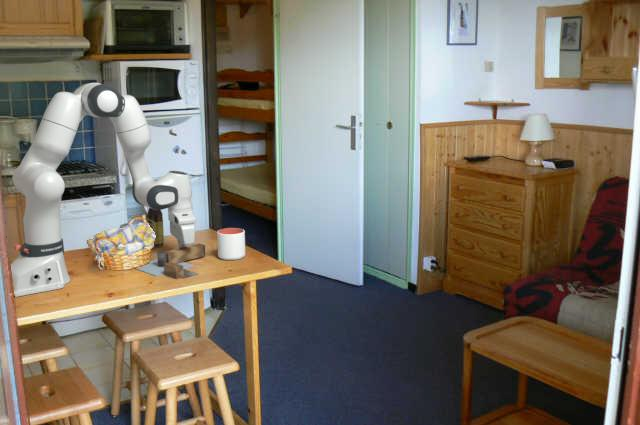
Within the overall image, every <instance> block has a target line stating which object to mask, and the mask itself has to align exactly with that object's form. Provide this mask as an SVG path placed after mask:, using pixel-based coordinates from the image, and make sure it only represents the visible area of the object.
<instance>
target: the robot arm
mask: <svg viewBox="0 0 640 425" xmlns="http://www.w3.org/2000/svg"><path fill="white" fill-rule="evenodd" d="M85 116H86V117H87V116H90V117H93V118H103V119H104V118H108V119H109V120H110V121H111V123H112V125H113V128H114V131H115V135H116V137H117V139H118V141H119V142H118V143H119V144H120V146H121V148H122V151H123V154H124V156H125V160H126V163H127V166H128V170H129V174H130V176H131V181H132V192H131V193H132V197H133V199H134V201H135V202H136V203H137V204H138V205H139V206H143V207H147V208H148V209H149V208H151V209H154V210H161V211H162V210H165V209H167V216H168V221H169V232H170V235H172V236H173V237H174V238H175V239H176V241H177V245H178V249H179V248H183V247H187V246H191V245H195V241H196V240H195V238H196V237H195V236H196V235H195V234H196V231H195V230H196V228H195V224H196V222H197V219H196V216H195V215H194V210H193V209H194V208H193V203H192V197H193V193H192V192H193V191H192V189H193V188H192V183H191V182H192V181H191V178H190V175H189V174H188V173H186V172H184V171H179V170H170V171H168V172H167V173H166V174H165V175H164V176H163V177H161V178H159V179H158V180H154V179H153V177H152V176H151V174H150V172H149V168H148V165H147V160H146V158H145V151H146V149H147V148H148V147H149V146H150V144H151V141H152V135H151V130H150V126H149V124H148V122H147V118H146V116H145V113H144V111H143V108H142V107H141V105H140V103H139V102H138V100H137V99H136V97H135V96H133V95H131V94H122V93H121V94H120V93H119V92H118V90H117V89H116V88H114V87H113V86H111V85H108V84H105V83H99V82H86V83H83V84H80V85H79V86H78V87H76V88H75V89H73V91H71V92H70V91H69V92H68V91H59V92H56V93H55V94H54V96H53V97H52V99H51V100H50V102H49V104H48V105H47V107H46V108H45V111H44V113H43V116H42V118H41V121H40V123H39V126H38V128H37V130H36V134H35V137H34V139H33V142H32V143H31V145H30V146H29V149H28V150H27V151H26V153H25V155H24V157H23V158H22V161H21V162H20V164H19V165H18V166H17V167H16V169H14V171H13V173H12V183H13V186H14V187H15V188H16V190H17V191H18V192H19V193H20V194H21V195H23V196H24V197H25V210H24V216H23V217H22V225H23V232H24V243H23V244H19V243H16V244H14V246H13V249H14V250H15V251H17V252H20V254H19V255H18V257H17V258H15V259H14V261H12V263H11V264H9V265H11V271H12V278H13V286H14V294H15V297H22V296H28V295H32V294H38V293H44V292H49V291H53V290H60V289H63V288H65V286H66V284H68V283H69V282H70V281H71V277H70V274H69V273H68V272H69V271H68V269H67V264H66V261H65V257H64V255H65V246H64V239H63V238H62V231H61V230H62V229H61V215H60V214H61V205H62V198H63V194H64V192H65V187H66V186H65V182H64V179H63V177H62V176H61V174H60V173H58V171H57V169H58V167H59V166H60V164H61V163H62V162H63V161H64V159H65V158H66V157H67V156H68V155H69V153H70V150H71V148H72V145H73V143H74V139H75V137H76V134H77V131H78V128H79V125H80V123H81V121H82V120H83V119H84V118H85ZM15 297H14V298H15Z"/></svg>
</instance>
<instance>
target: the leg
mask: <svg viewBox="0 0 640 425" xmlns="http://www.w3.org/2000/svg"><path fill="white" fill-rule="evenodd" d="M156 255H157V258H156V259H157V260H158V266H164V263H168V262H173V263H179V262H186V261H190V260H194V259H199V258H202V257H205V256H206V245H205V244H201V243H194V244H193V245H186V247H183V248H179V247H178V248H175V249H171V250H167V251H165V250H163V251H161V250H160V251H157V253H156Z"/></svg>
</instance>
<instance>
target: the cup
mask: <svg viewBox="0 0 640 425" xmlns="http://www.w3.org/2000/svg"><path fill="white" fill-rule="evenodd" d="M216 233H217V234H216V235H217V236H216V237H217V257H218V258H220V259H221V260H223V261H237V260H241V259H243V258H244V257H245V255H246V235H245V234H246V231H245V230H244V228H243V229H242V228H239V227H238V228H237V227H227V228H226V227H225V228H221V229H218V230H217V231H216Z"/></svg>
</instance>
